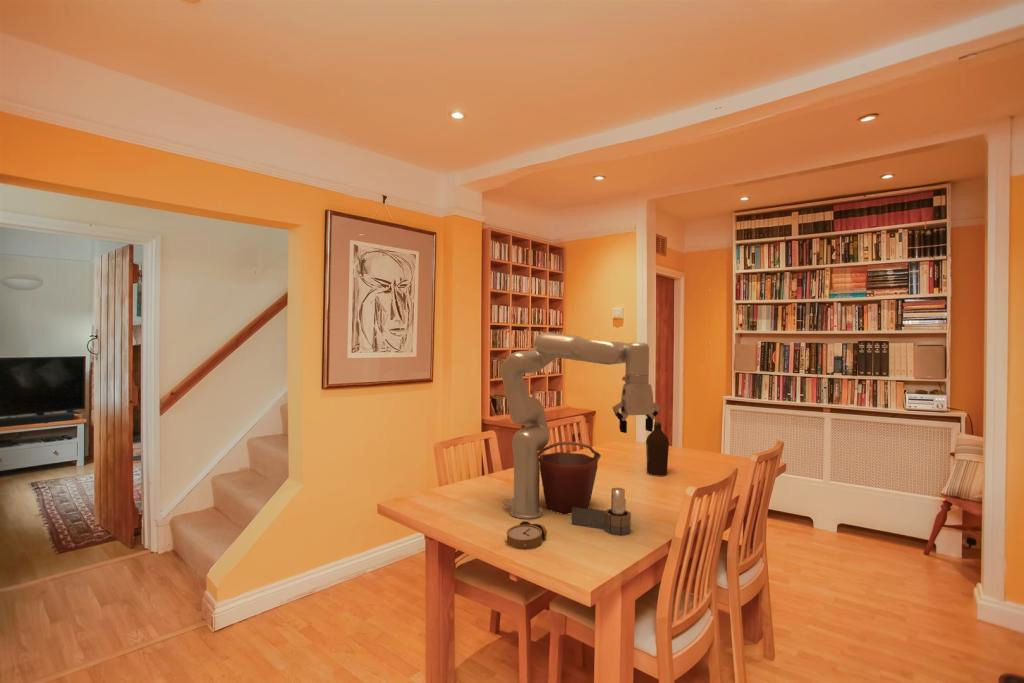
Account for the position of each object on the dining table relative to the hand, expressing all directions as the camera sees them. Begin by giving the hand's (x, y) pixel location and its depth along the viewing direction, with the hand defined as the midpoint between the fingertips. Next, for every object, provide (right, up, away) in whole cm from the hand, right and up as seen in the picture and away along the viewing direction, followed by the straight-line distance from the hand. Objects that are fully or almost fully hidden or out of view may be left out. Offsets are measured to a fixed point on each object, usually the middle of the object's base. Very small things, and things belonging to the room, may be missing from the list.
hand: (636, 431), depth 167 cm
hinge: (-9, -34, +12) cm, 37 cm away
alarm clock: (-36, -34, -5) cm, 50 cm away
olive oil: (+29, -35, +78) cm, 90 cm away
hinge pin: (-5, -34, +4) cm, 35 cm away
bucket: (-20, -34, +27) cm, 48 cm away
